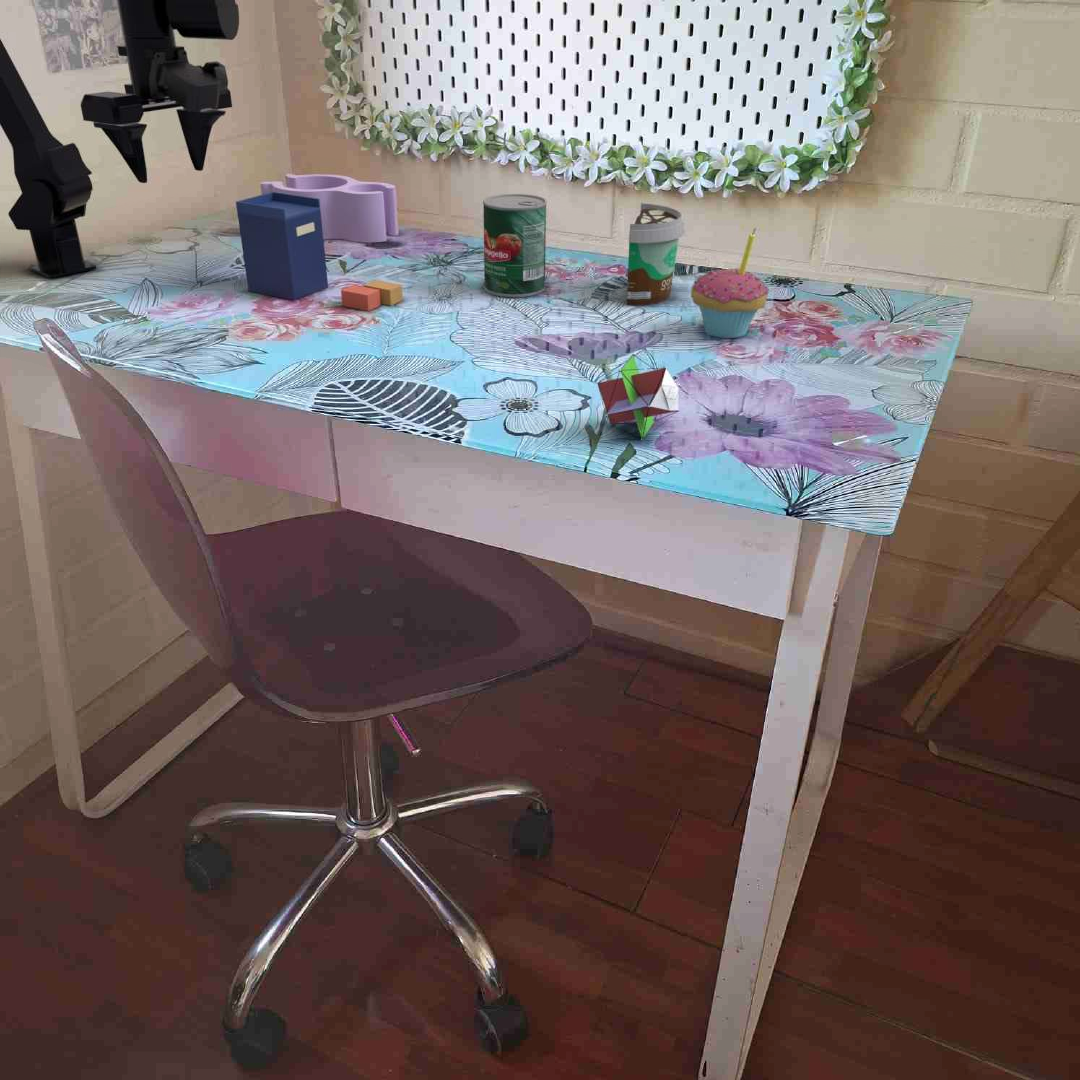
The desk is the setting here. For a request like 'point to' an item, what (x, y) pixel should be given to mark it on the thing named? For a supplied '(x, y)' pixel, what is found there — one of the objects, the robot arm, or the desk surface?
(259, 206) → the blue storage box
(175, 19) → the robot arm
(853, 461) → the desk surface
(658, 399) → the geometric puzzle
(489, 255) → the canned tomato
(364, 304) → the block
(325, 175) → the clip
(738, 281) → the cupcake
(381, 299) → the snack bar tan
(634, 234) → the food container
